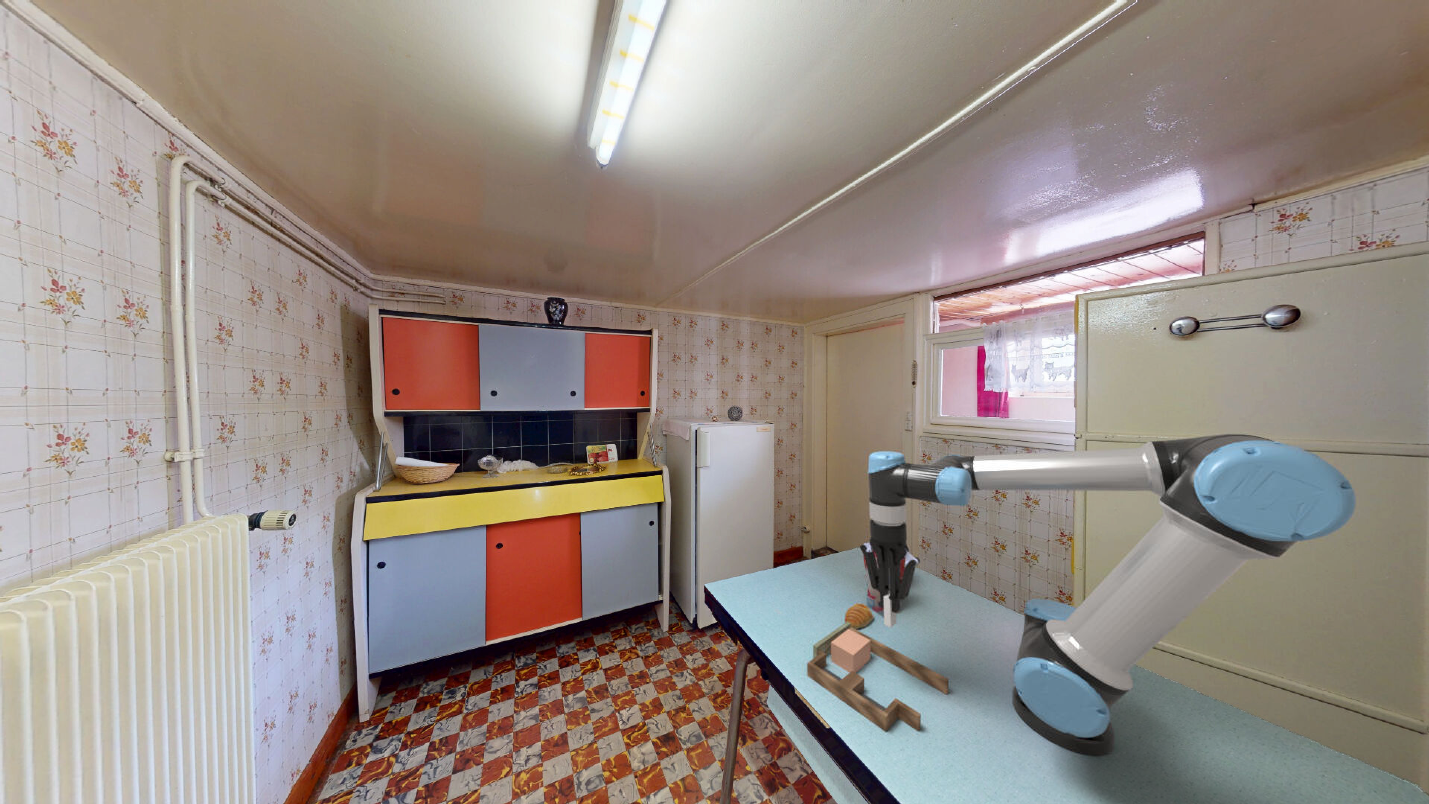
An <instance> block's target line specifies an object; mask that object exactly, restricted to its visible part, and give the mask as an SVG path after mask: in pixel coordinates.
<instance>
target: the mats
mask: <svg viewBox="0 0 1429 804" xmlns="http://www.w3.org/2000/svg"><path fill="white" fill-rule="evenodd" d="M821 669H822V670H823V671H825V672H826V673H828V674H829V675H831V676H832V677H834V678H835V679H837V680H838V681H841V680H842V679H843V678H841V677H839V676H838V675H836V674H835V673H834V672H832V671H830V670H829V669H828V668H827V667H826V666H825V667H823V668H821ZM860 696H862V697H863V698H865V699H866V700H868V701H869V702H871V703H872V704H874V705H875V706H877V707H878V708H880V709H881V710H883V711H884V710H885V709H886V708H887V707H885V706H884V705H882V704H880V703H878V702H877V701H875V700H874V699H873V698H871V697H870V696H868V695H867V694H865V693H864V692H863V693H861V694H860Z"/></svg>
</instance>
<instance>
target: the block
mask: <svg viewBox="0 0 1429 804" xmlns="http://www.w3.org/2000/svg"><path fill="white" fill-rule="evenodd" d="M869 661H871V652H870V640H869V639H867V638H865V637H863V636H861V635H859V634H858V633H856V632H854V631H852V630H850V629H848V630H846V631H845V632H844V633H842V634H841V635H840V636H839V637H837V638H836V639H835V640H833V641H832V642H831V653H830V662H831V663H833V664H835V665H836V666H838V667H840V668H841V669H843V670H845V671H846V672H848V674H849V673H850V672H851V671H854V672H855V673H857V672H859V670H861V669H862V668H863V667H864V666H865V665H866V664H867V663H868V662H869Z"/></svg>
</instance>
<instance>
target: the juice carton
mask: <svg viewBox="0 0 1429 804" xmlns="http://www.w3.org/2000/svg"><path fill="white" fill-rule="evenodd" d="M873 552H874V550H873ZM874 554H875V552H874ZM875 558H876V563H877V556H876V554H875ZM877 567H878V564H877ZM866 574H867V579H866V606H868V607H869V609H870V610H872V611H873V612H875V613H876V614H878V615H879V616H880V617H883V618H884V608H882V607H881V605H880V593H879V591H878V590H876V589H873V588H872V586H871V582H870V578H869V574H868V569H867V571H866ZM889 589H890V575H889ZM889 592H890V590H889V591H888V593H889ZM899 613H901V609H900V610H899V612H897V613H896V614H899Z"/></svg>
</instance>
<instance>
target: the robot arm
mask: <svg viewBox="0 0 1429 804" xmlns="http://www.w3.org/2000/svg"><path fill="white" fill-rule="evenodd" d="M867 474H868V491H869V493H868V494H869V495H868V496H869V501H868V503H869V518H870V520H869V532H870V533H869V534H870V538H869V541H868V542H865V543H863V544H861V545H860V546H859V548H860V551H861V553H862V555H863V554H864V557H865V561H866V565H867V569H868V574H869V578H870V582H871V586H872V588H873V589H876V590H878V591H879V593H880V605H881V607H882V608H884V617H883V619H884V620H883V622H884V623H883V625H885V626H886V627H889V628H892V627H894V625H896V624H897V623H898V622H897V614H898V613H897V612H899V610H900V611H901V600H902V601H903V600H904V599H905V598H907V597H908V596H909V595H910V590H911V587H912V583H913V578H914V574H915V570H916V568H917V567H918V565H919V564H920V563H921V559H920V557H917V556H916V557H914V556H913V555H912V554H911V553H910V550H909V547H908V544H907V539H908V537H907V536H908V535H907V523H905V522H906V521H907V511H906V510H907V508H906V507H907V506H906V505H907V504H906V503H907V502H906V501H907V500H906V499H911V500H916V501H917V500H918V501H923V502H929V503H935V504H941V505H945V506H958V507H964V506H967V505H968V504H969V503H970V502H971V501H970V500H971V497H972V491H1059V492H1060V491H1068V492H1069V491H1073V492H1075V491H1077V492H1079V491H1080V492H1081V491H1082V492H1083V491H1084V492H1085V491H1086V492H1087V491H1090V492H1091V491H1092V492H1093V491H1094V492H1096V491H1097V492H1103V491H1104V492H1106V491H1107V492H1108V491H1109V492H1113V491H1114V492H1152V493H1154V494H1156V495H1158V496H1159V497H1160V498H1159V499H1158V504H1159V506H1160V508H1161V511H1162V515H1163V516H1162V517H1161V518H1160V519H1159V520H1158V521H1157V522H1156V523H1155V524H1154V525H1153V526H1152V527H1151V528H1150V530H1149V531H1148V532H1147V533H1146V534H1145V535H1144V536H1143V537H1142V538H1141V539H1140V540H1139V541H1138V542H1137V544H1136V545H1135V546H1134V547H1133V548H1131V550H1130V551H1129V552H1128V553H1127V554H1126V556H1124V558H1122V560H1121V561H1120V562H1119V563H1118V564H1117V565H1116V566H1115V567H1114V568H1113V569H1112V570H1111V571H1110V573H1109V574H1107V576H1105V578H1104V579H1103V580H1102V581H1101V582H1100V583H1099V584H1098V585H1097V586H1096V587H1095V588H1094V589H1093V591H1092V592H1091V593H1090V594H1089V595H1088V596H1087V597H1086V598H1085V599H1084V600H1083V602H1081V603H1080V605H1078V607H1075V606H1073V605H1069V604H1066V603H1063V602H1059V601H1055V600H1049V599H1044V598H1032V599H1028V600H1027V601H1025V604H1024V609H1023V613H1024V618H1023V619H1024V621H1023V623H1024V624H1023V625H1024V626H1023V632H1022V637H1021V640H1020V645H1019V649H1018V652H1017V656H1016V657H1017V658H1016V662H1015V663H1014V665H1013V675H1014V676H1013V681H1014V686H1013V688H1012V705H1013V708H1014V709H1015V712H1016V714H1017V715H1018V716H1019V717H1020V718H1021V720H1022V721H1023V722H1024V723H1025V724H1026V725H1027V726H1029V727H1030V728H1031V729H1032V730H1033V731H1035V732H1036V733H1037V734H1039V735H1040V736H1041V737H1043V738H1045V739H1047V740H1048V741H1050V742H1052V743H1054V744H1056V745H1057V746H1060V747H1062V748H1065V749H1066V750H1069V751H1073V752H1075V753H1078V754H1083V755H1088V756H1104V755H1107V754H1110V753H1111V752H1112V751H1113V750H1114V747H1115V731H1114V727H1113V723H1112V722H1111V714H1110V713H1111V712H1110V708H1111V707H1113V705H1114V704H1116V703H1117V702H1118V701H1119V700H1120V699H1121V698H1122V697H1124V696H1125V695H1126V694H1127V693H1128V692H1129V691H1130V690H1131V689H1132V688H1133V686H1134V681H1133V679H1132V676H1131V673H1130V671H1129V670H1130V669H1131V668H1132V667H1133V666H1134V665H1136V664H1137V663H1138V661H1140V660H1141V659H1142V658H1143V657H1144V656H1145V655H1146V654H1147V653H1149V652H1150V651H1151V650H1152V649H1153V648H1154V647H1155V646H1156V645H1157V644H1159V643H1160V641H1162V640H1163V639H1164V638H1165V637H1166V636H1167V635H1168V634H1169V633H1170V632H1172V630H1173V629H1175V628H1176V627H1177V626H1178V625H1179V624H1180V623H1182V621H1184V620H1185V619H1186V618H1187V617H1188V616H1189V615H1190V614H1191V613H1192V612H1194V611H1195V610H1196V609H1197V608H1198V607H1199V606H1200V605H1202V603H1203V602H1204V601H1205V600H1207V598H1209V597H1210V596H1211V595H1212V594H1213V593H1214V592H1215V591H1217V590H1218V589H1219V588H1220V587H1221V586H1222V585H1223V584H1224V583H1225V582H1226V581H1228V580H1229V579H1230V578H1231V577H1232V576H1233V575H1234V574H1235V573H1236V572H1237V571H1238V570H1239V569H1241V568H1242V567H1243V566H1244V565H1245V564H1246V563H1247V562H1248V561H1249V560H1260V559H1261V560H1277V559H1279V558H1280V557H1281V556H1282V555H1283V554H1284V553H1286V552H1287V551H1288V550H1289V549H1290V548H1291V547H1292V546H1293V545H1295V544H1296V543H1297V542H1301V541H1302V542H1303V541H1310V540H1316V539H1319V538H1323V537H1325V536H1328V535H1331V534H1333V533H1335V532H1336V531H1339V530H1340V529H1341V528H1343V526H1345V525H1346V524H1347V523H1348V522H1349V521H1350V519H1351V518H1352V516H1353V515H1354V512H1355V511H1356V505H1357V500H1356V499H1357V498H1356V494H1355V493H1356V492H1355V491H1354V489H1353V487H1352V485H1351V483H1350V481H1349V480H1348V478H1347V477H1346V476H1345V475H1344V474H1343V473H1342V472H1341V471H1340V470H1339V469H1337V468H1336V467H1335V466H1334V465H1332V464H1331V463H1329V462H1328V461H1327V460H1324V459H1323V458H1321V457H1320V456H1318V455H1316V454H1315V453H1313V452H1310V451H1308V450H1305V449H1303V448H1301V447H1299V446H1293V445H1289V444H1286V443H1282V442H1279V441H1276V440H1275V441H1274V440H1272V439H1269V438H1265V437H1261V436H1256V435H1252V434H1244V433H1226V434H1225V433H1224V434H1215V435H1214V434H1212V435H1204V436H1197V437H1189V438H1180V439H1170V440H1169V439H1167V440H1155V441H1152V440H1151V441H1147V442H1146V443H1144V444H1143V445H1142V446H1141V447H1132V448H1129V447H1128V448H1112V449H1110V448H1109V449H1090V450H1073V451H1072V450H1071V451H1049V452H1048V451H1047V452H1030V453H1029V452H1026V453H1010V454H1009V453H1008V454H1004V453H1003V454H987V455H985V454H984V455H973V456H972V455H971V456H970V455H968V456H962V455H959V454H951V455H945V456H943V457H941V458H940V459H938V460H937V461H935V462H933V463H932V464H918V463H917V464H916V463H910V462H906V459H905V455H904V454H903V453H901V452H899V451H898V452H896V451H888V450H887V451H886V450H885V451H883V450H882V451H875V452H872V453H871V454H869V456H868V470H867ZM873 550H874V552H875V554H876V556H877V563H876V558H875V554H874V552H873ZM864 557H863V558H864ZM904 557H905V569H904V573H903V577H902V578H901V579H902V581H901V585H900V565H901V561H902V559H903V558H904ZM877 564H878V567H877ZM889 575H890V589H889ZM889 590H890V592H889V593H888V591H889ZM899 613H900V612H899Z"/></svg>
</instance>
